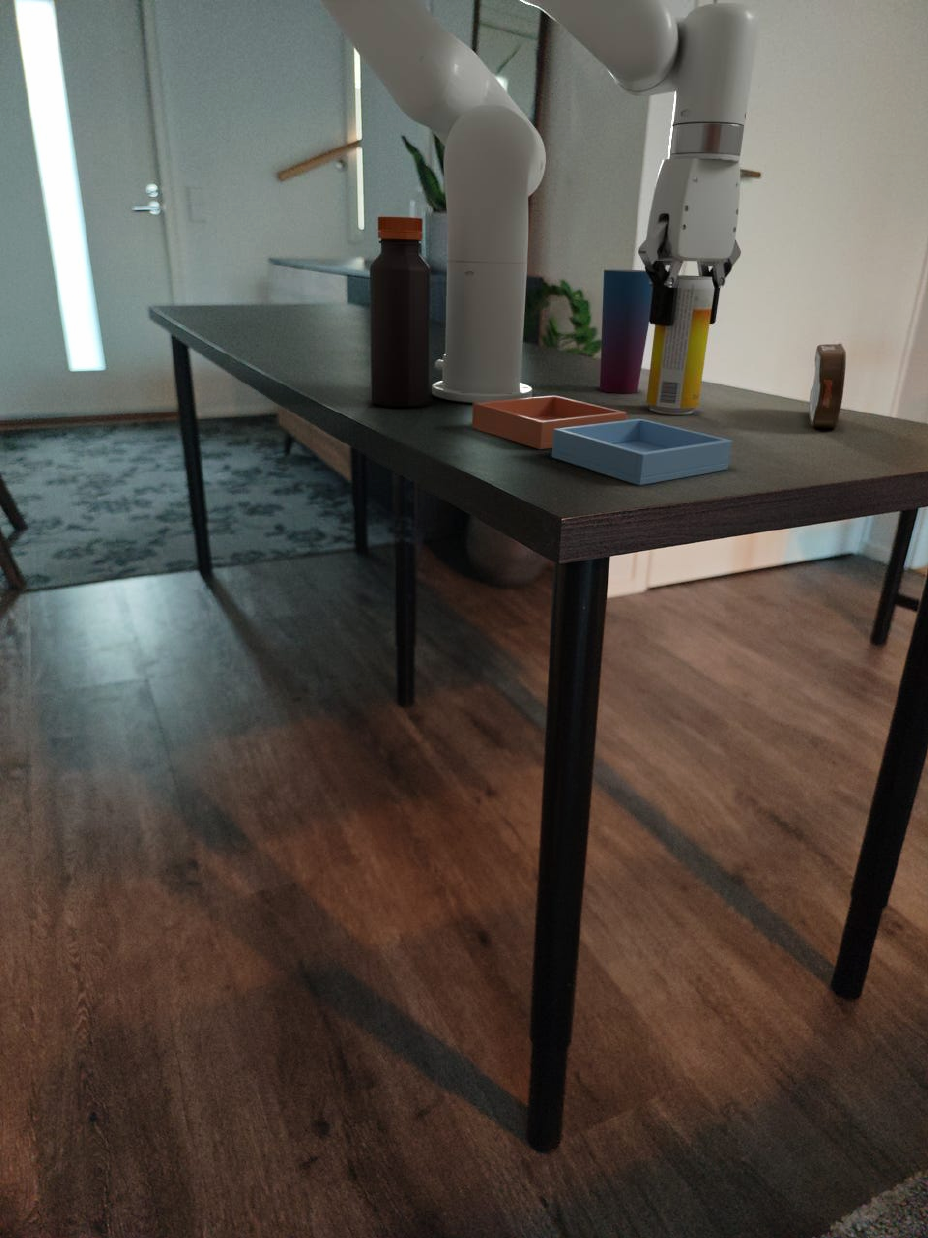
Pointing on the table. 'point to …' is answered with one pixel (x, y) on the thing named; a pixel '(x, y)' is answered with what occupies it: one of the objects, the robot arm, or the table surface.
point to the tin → (827, 386)
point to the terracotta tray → (537, 418)
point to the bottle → (400, 316)
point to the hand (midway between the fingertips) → (682, 322)
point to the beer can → (681, 349)
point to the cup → (624, 328)
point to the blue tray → (641, 450)
